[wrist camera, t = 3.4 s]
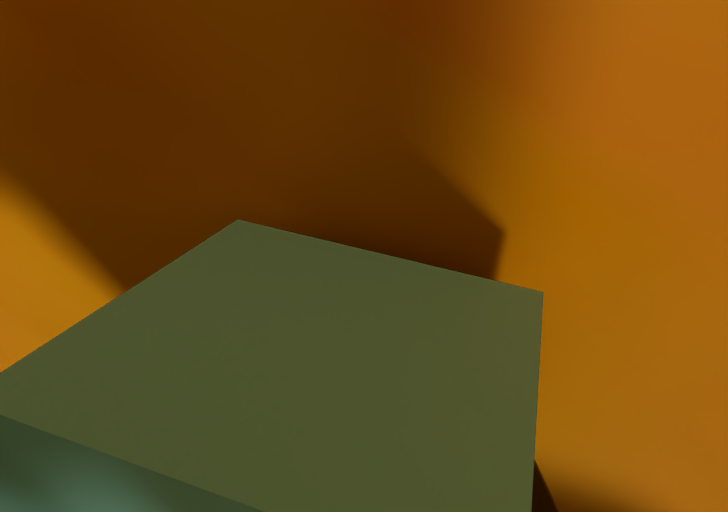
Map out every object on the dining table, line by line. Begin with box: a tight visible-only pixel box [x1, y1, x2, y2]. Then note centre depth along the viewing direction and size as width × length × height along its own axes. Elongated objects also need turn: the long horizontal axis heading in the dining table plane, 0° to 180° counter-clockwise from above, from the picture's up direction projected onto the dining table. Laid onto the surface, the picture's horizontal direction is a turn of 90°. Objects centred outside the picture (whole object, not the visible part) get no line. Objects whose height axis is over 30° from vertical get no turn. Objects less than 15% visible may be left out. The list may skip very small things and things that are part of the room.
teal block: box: [0, 219, 543, 512], centre depth 8 cm, size 5×5×5 cm
